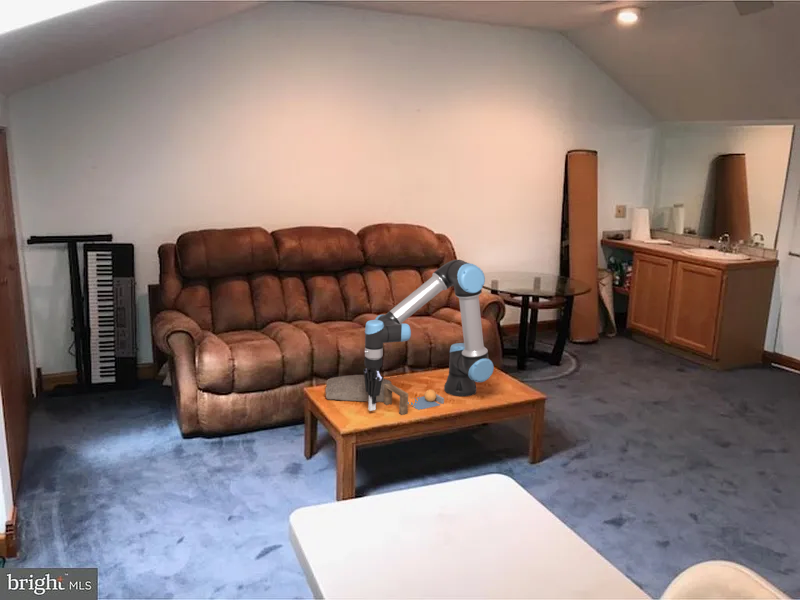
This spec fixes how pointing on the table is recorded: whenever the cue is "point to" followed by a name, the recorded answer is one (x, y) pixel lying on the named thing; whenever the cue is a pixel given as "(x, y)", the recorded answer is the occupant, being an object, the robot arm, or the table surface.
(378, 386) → the robot arm
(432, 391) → the ball
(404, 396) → the bridge
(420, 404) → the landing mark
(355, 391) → the stone tablet
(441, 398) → the wall
